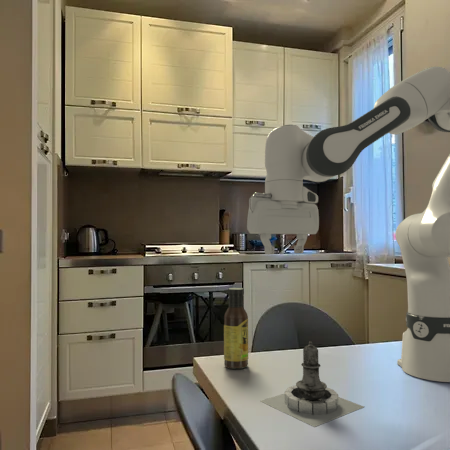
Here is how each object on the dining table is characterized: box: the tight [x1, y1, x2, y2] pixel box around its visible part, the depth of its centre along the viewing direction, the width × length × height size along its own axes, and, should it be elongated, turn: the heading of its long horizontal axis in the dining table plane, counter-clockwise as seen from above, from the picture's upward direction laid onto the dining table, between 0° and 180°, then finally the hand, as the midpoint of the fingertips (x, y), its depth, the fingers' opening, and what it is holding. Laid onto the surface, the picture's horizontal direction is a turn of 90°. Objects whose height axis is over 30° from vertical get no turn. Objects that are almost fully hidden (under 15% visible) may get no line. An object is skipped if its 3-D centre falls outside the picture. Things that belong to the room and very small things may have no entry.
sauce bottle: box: [223, 287, 249, 370], centre depth 105 cm, size 6×6×20 cm
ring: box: [284, 384, 339, 415], centre depth 79 cm, size 10×10×2 cm
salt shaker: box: [295, 340, 328, 401], centre depth 79 cm, size 6×6×12 cm
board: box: [260, 392, 365, 428], centre depth 79 cm, size 14×14×1 cm
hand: (284, 253), depth 95 cm, fingers open, 8 cm apart
